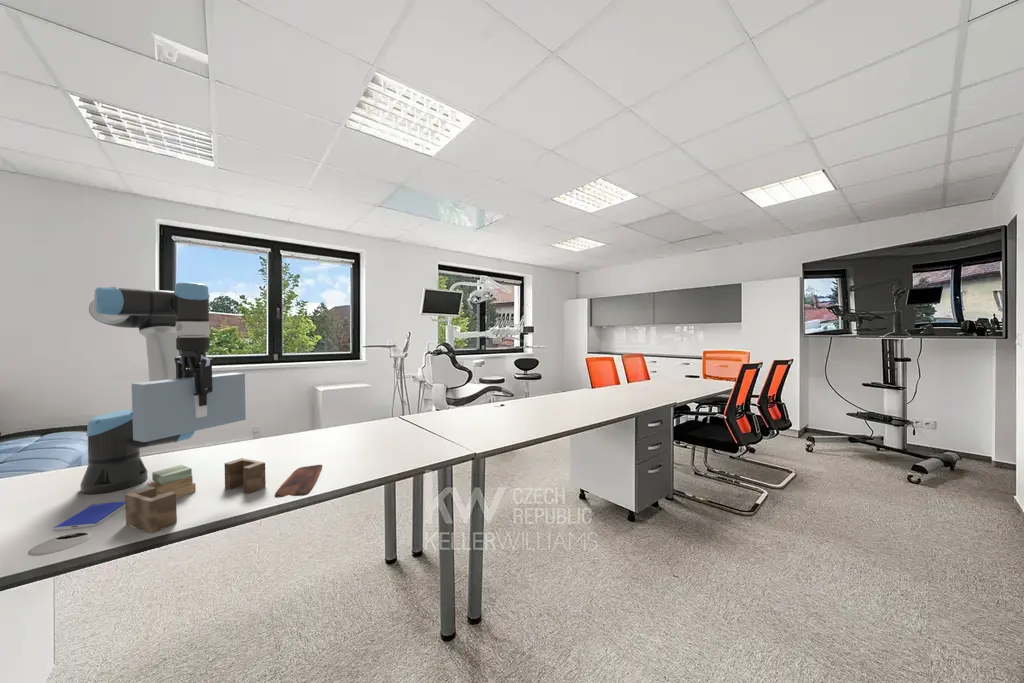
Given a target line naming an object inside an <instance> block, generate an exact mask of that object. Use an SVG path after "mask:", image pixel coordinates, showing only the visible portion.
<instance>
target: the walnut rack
mask: <svg viewBox="0 0 1024 683" xmlns="http://www.w3.org/2000/svg"><path fill="white" fill-rule="evenodd" d="M242 485H243V493H245V494H248V495H249V494H253V493H254V492H256V491H259V490H261V489H264V488H266V462H265V461H264V462H263V461H257V460H253V459H247V458H244V457H240V458H237V459H234V460H231V461H228V462H225V463H224V488H225V489H229V490H230V489H235V488H237V487H239V486H242ZM124 497H125V498H124V499H125V500H124V501H125V506H124V507H125V525H127V526H130V527H133V528H135V529H139V530H140V531H141V530H142V531H143V532H147V533H150V534H153V533H155V532H157V531H160V530H164V529H165V528H167V527H170V526H173V525H175V524H177V523H178V519H177V518H178V517H177V516H178V515H177V514H178V513H177V509H178V508H177V498H176V493H174V492H168V493H165V494H162V495H159V496H156V488H155V487H151V486H150V487H149V486H147V487H144V488H141V489H138V490H135V491H131V492H128V493H125V495H124Z"/></svg>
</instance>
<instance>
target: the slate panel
mask: <svg viewBox="0 0 1024 683" xmlns="http://www.w3.org/2000/svg"><path fill="white" fill-rule="evenodd" d="M212 388H213V391H212V392H210V393H208V394H207V416H204V417H199V418H195V395H194V394H195V393H196V387H195V379H194V377H190V378H179V379H170V380H160V381H151V382H150V381H143V382H142V381H141V382H133V383H131V407H132V408H131V409H132V416H133V440H136V441H140V442H148V441H152V440H157V439H161V438H166V437H170V436H175V435H179V434H184V433H188V432H193V431H195V432H196V431H197V432H198V431H200V430H206V429H211V428H214V427H215V428H216V427H218V426H223V425H228V424H231V423H232V424H233V423H237V422H242V421H246V416H247V415H246V414H247V413H246V374H245V373H244V372H227V373H217V374H212Z"/></svg>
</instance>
